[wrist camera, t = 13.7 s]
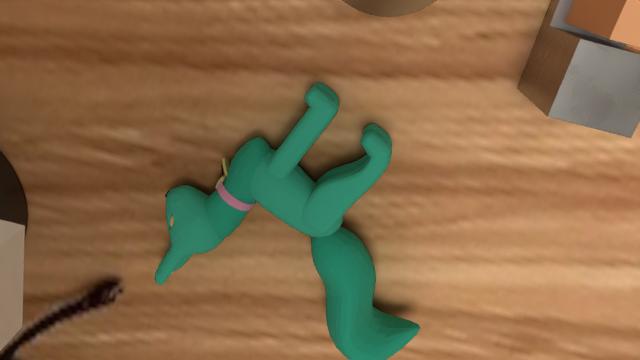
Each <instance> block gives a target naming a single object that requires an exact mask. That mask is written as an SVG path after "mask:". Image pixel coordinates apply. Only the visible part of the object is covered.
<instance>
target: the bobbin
mask: <svg viewBox="0 0 640 360" xmlns="http://www.w3.org/2000/svg"><path fill="white" fill-rule="evenodd" d="M343 1H344V2H346V3H347V4H349V5H350V6H352V7H353V8H355V9H357V10H359V11H362V12H365V13H368V14H371V15H376V16H384V17H394V16H402V15H407V14H411V13H414V12H416V11H419V10H421V9H423V8H425V7H427V6H429V5H431V4H432V3H434V2H435V1H436V0H343Z"/></svg>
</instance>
